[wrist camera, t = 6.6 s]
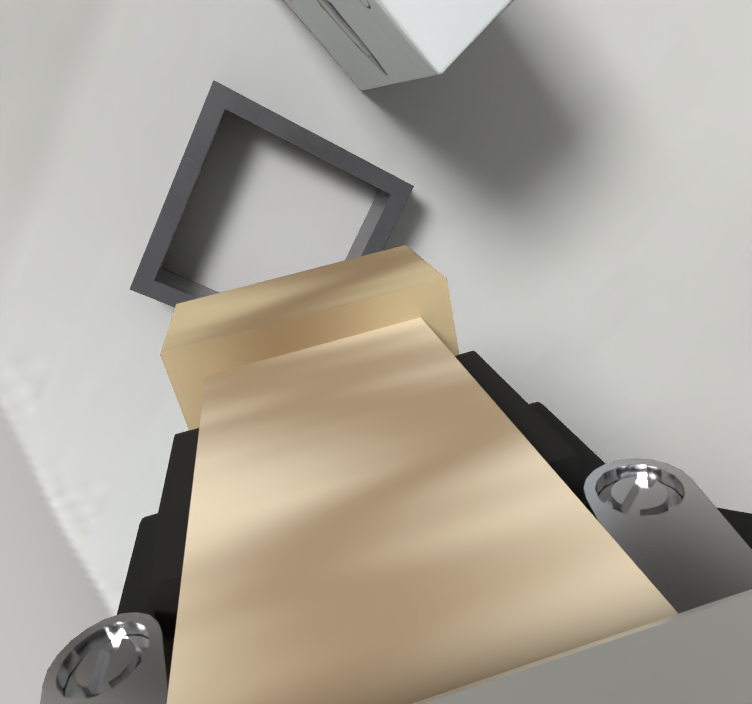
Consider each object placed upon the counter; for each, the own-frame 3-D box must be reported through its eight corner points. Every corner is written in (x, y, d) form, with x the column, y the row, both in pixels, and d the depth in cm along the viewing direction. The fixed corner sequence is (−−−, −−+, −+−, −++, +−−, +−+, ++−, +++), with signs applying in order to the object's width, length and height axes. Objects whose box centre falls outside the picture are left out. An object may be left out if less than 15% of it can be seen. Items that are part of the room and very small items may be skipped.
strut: (405, 244, 14) (1004, 737, 3) (442, 438, 16) (877, 1145, 5) (175, 303, 13) (-93, 1163, 3) (244, 497, 16) (261, 1434, 5)
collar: (400, 181, 31) (413, 186, 29) (318, 349, 33) (324, 366, 31) (215, 83, 28) (213, 80, 25) (138, 276, 30) (129, 289, 28)
